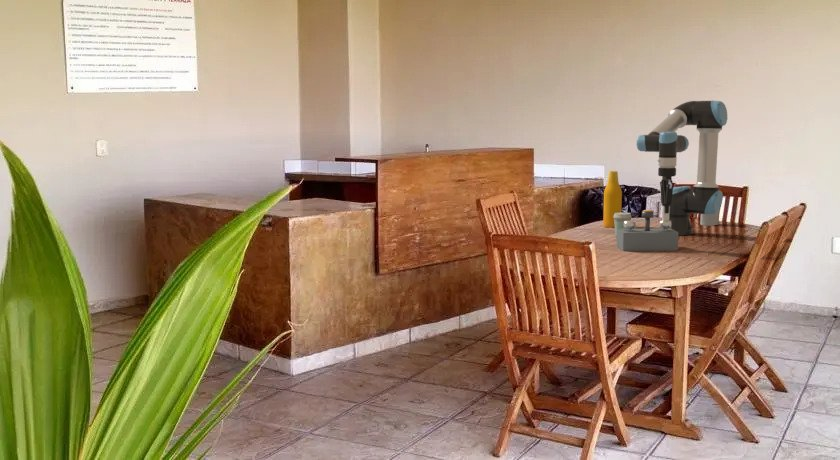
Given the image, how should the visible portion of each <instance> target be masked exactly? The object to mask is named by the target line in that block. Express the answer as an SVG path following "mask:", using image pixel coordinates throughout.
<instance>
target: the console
mask: <svg viewBox="0 0 840 460" xmlns="http://www.w3.org/2000/svg"><path fill="white" fill-rule="evenodd" d="M616 247H617V248H618V249H620V250H622V251H623V252H644V251H645V252H646V251H648V252H652V251H653V252H654V251H678V250H679V235H678V232H677V231H675V230H673V229H671V228H668V231H663V228H660V227H659V228H650V231H645V228H635V229H632V231H627V229H617V238H616Z"/></svg>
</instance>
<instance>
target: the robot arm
mask: <svg viewBox="0 0 840 460" xmlns="http://www.w3.org/2000/svg"><path fill="white" fill-rule="evenodd" d="M727 123H728V110H727V107H726V105H725V103H724V102H723V101H720V100H689V101H686V102H684V103H682V104H679V105H677V106H676V107H674V108H673V109H672V110H670V111H669V112H668V114H667V117H666V118H664V120H663V121H662V122H660V123H659V124H658V125H657V126H655V127H654V128H653V129H652V130H651V131H650V132H649V133H648V134H640V135H639V136H638V137H637V139H636V147H637V150H638V151H640V152H646V153H649V152H650V153H651V152H652V153H653V152H654V153H655V152H656V153H658V159H657V162H658V169H657V170H658V171H657V175H658V177H661V181H660V182H659V186H660V203H661V206H662V209H661V210H662V213H661V215H662V216H661V219H662V220H663V221H669V220H670V221H672V222H671V229H673V230H675V231H677V232H678V236H689V235H693V231H694V230H693V226H692V223H691V219H690V214H697V215H701V214H705V215H708V214H712V215H713V214H716V213H717V212H718V211H719V212H720V210H721V207H722V204H723V200H724V198H723V197H724V195H723V192H722V191H721V190H719V189H720V188H719V185H718V184H717V181H716V179H717V164H718V163H717V162H718V147H719V145H718V144H719V134H720V132H721V131H722V130H723V127H724V126H726V124H727ZM685 126H696V130H697V132H699V139H698V155H697V156H698V157H697V170H696V171H697V174H696V183H695V184H694V185H693V187H692V189H691V186H690V185H684V186H683V185H682V186H674V183H673V179H672V178H673V177H676V175H677V159H678V158H677V153H683V152H685V151H686V150H687V149H688V147H689V145H690V142H689V139H688V138H687V137H686V136H685V135H682V134H680V135H679V134H678V133H677V132H676V131H677V130H678V129H682V128H683V127H685Z"/></svg>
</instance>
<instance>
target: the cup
mask: <svg viewBox="0 0 840 460" xmlns="http://www.w3.org/2000/svg"><path fill="white" fill-rule="evenodd" d="M719 220H720V210H719V211H718V212H717V213H716V214H713V215H712V214H708V215H705V214H700V222H699V224H700V225H701V226H706V227H714V226H713V225H718V224H719V222H720V221H719ZM719 225H720V224H719ZM719 225H718V226H719Z"/></svg>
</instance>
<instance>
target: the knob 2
mask: <svg viewBox="0 0 840 460" xmlns="http://www.w3.org/2000/svg"><path fill="white" fill-rule="evenodd" d="M671 222H672V221H670V220H669V221H663V220H661V219H660V220H659V228H663V231H668V228H671Z"/></svg>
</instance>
